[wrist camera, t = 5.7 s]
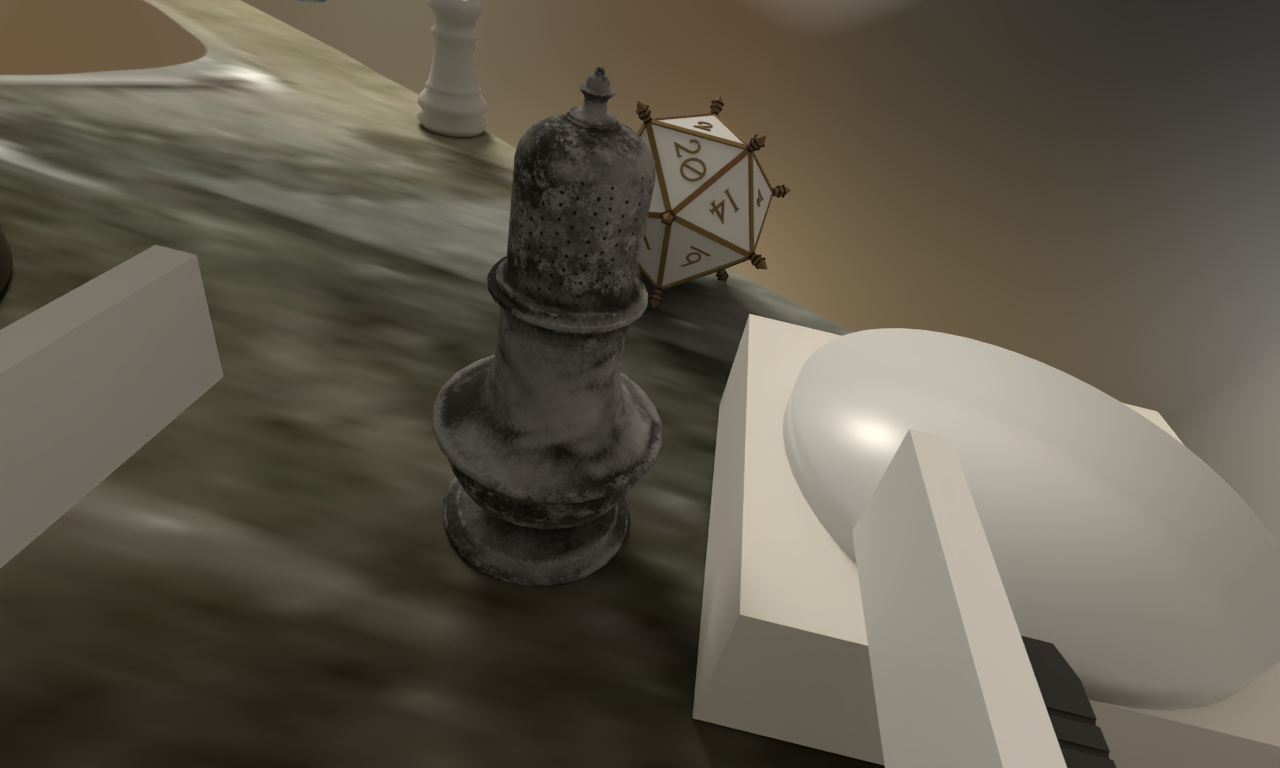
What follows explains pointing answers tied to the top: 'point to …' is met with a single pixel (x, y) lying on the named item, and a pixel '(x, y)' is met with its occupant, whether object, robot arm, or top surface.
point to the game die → (701, 199)
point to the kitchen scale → (1015, 530)
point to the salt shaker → (557, 361)
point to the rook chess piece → (453, 72)
